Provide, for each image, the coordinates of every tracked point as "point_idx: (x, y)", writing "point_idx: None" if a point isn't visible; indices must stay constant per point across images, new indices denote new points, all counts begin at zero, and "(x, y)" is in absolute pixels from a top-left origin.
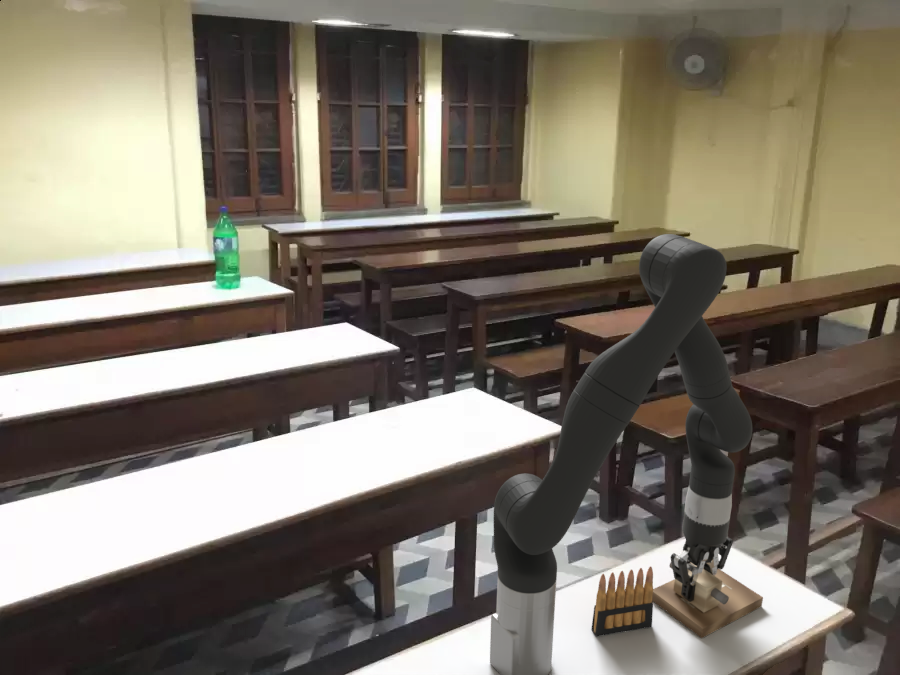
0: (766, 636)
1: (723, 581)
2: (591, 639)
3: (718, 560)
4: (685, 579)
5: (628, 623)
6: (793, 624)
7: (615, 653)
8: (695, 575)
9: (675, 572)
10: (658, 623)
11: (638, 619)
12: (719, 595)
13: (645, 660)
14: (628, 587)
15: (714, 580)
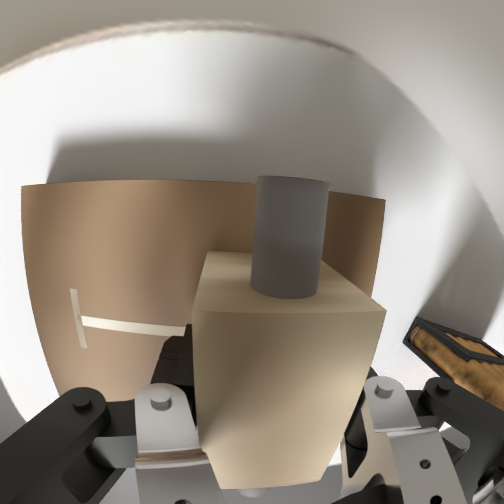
0: (161, 70)
1: (71, 333)
2: (487, 336)
3: (141, 501)
4: (470, 401)
5: (463, 339)
6: (51, 80)
7: (497, 288)
8: (401, 425)
9: (455, 448)
10: (395, 319)
11: (455, 339)
12: (323, 224)
13: (490, 241)
14: None
15: (245, 352)
